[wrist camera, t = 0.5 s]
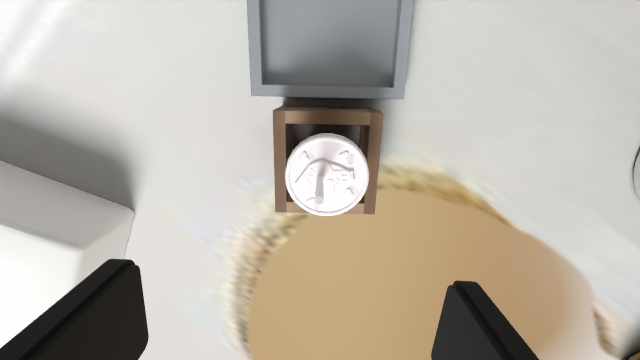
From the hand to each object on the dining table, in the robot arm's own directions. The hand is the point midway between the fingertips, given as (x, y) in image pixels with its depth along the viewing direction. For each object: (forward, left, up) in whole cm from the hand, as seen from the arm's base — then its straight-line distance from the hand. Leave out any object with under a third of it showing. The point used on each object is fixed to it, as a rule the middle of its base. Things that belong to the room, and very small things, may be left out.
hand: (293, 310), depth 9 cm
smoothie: (-1, 0, -23) cm, 23 cm away
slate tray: (-1, -11, -23) cm, 26 cm away
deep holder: (-1, 0, -23) cm, 23 cm away
